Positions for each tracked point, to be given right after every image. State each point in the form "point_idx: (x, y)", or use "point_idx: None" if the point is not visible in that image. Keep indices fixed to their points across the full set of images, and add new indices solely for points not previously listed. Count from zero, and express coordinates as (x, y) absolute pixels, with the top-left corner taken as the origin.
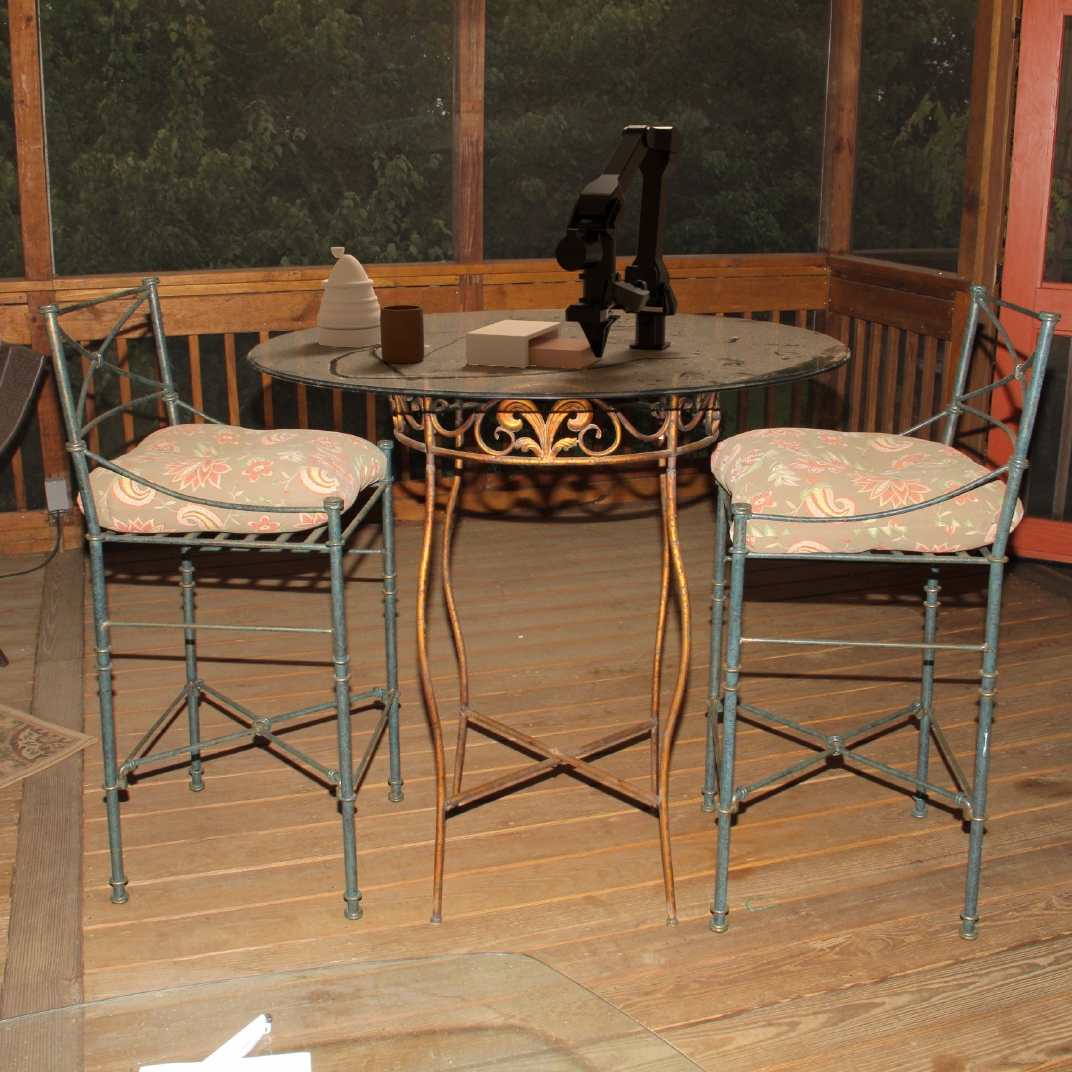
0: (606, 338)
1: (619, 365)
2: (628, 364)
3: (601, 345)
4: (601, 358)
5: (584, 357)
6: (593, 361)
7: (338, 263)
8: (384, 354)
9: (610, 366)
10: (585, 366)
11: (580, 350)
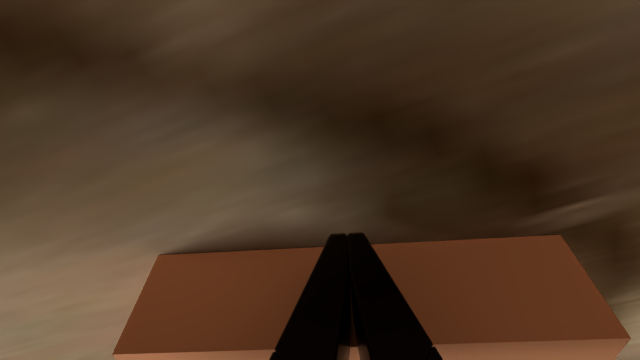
0: (309, 349)
1: (354, 80)
2: (275, 29)
3: (406, 304)
4: (172, 255)
5: (507, 287)
6: (318, 252)
7: None
8: None
9: (420, 123)
10: (465, 240)
11: (609, 342)
